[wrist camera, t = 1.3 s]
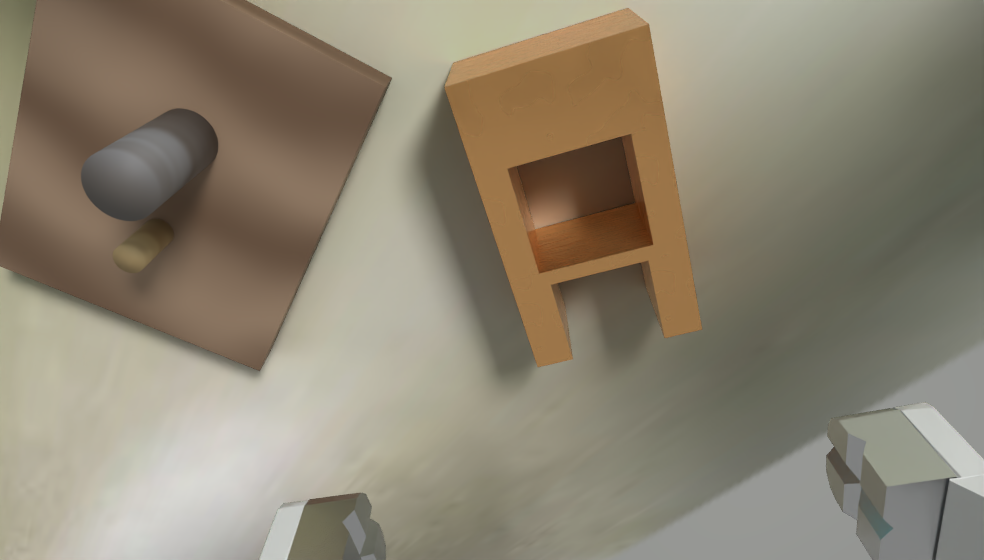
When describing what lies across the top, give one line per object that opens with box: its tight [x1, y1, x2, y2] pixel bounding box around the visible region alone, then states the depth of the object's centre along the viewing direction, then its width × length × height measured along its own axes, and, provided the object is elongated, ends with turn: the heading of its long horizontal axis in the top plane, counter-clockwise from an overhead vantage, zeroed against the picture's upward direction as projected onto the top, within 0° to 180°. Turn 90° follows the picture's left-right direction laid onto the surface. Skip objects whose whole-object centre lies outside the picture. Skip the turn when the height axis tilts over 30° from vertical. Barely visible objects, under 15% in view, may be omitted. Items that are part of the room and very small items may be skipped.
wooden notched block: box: [444, 8, 702, 367], centre depth 25 cm, size 12×7×4 cm, turn 17°
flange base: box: [0, 0, 392, 371], centre depth 24 cm, size 15×12×6 cm
